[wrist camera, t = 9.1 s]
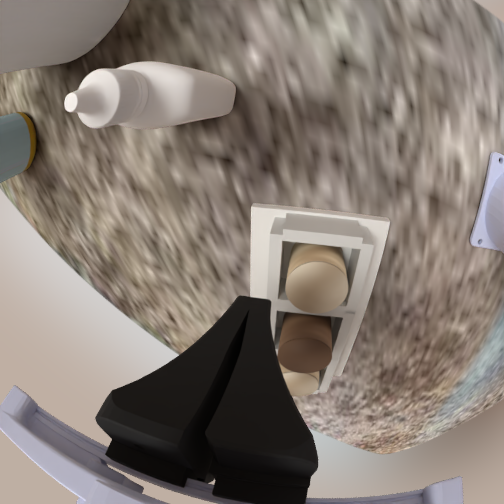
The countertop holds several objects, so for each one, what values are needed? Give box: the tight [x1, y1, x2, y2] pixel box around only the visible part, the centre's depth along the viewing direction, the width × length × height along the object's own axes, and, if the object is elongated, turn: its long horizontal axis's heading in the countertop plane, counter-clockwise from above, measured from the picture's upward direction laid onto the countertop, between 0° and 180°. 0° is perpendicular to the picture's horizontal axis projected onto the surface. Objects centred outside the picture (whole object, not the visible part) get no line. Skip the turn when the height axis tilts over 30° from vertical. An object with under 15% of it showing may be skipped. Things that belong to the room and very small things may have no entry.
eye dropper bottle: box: [64, 61, 236, 129], centre depth 12 cm, size 4×6×12 cm
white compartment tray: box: [250, 203, 390, 394], centre depth 23 cm, size 10×18×4 cm, turn 0°
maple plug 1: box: [285, 242, 348, 313], centre depth 19 cm, size 4×4×4 cm
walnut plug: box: [277, 312, 332, 373], centre depth 21 cm, size 4×4×4 cm
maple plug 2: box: [279, 363, 319, 396], centre depth 24 cm, size 4×4×4 cm
